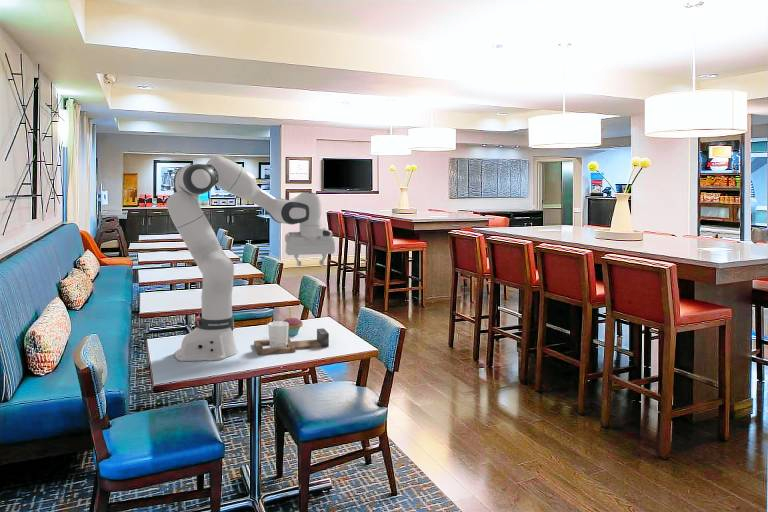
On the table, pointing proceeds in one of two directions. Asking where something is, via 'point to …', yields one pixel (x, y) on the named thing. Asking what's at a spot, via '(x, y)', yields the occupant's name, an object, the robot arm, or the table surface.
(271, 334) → the white cup
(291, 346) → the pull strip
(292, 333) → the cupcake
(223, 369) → the table surface
